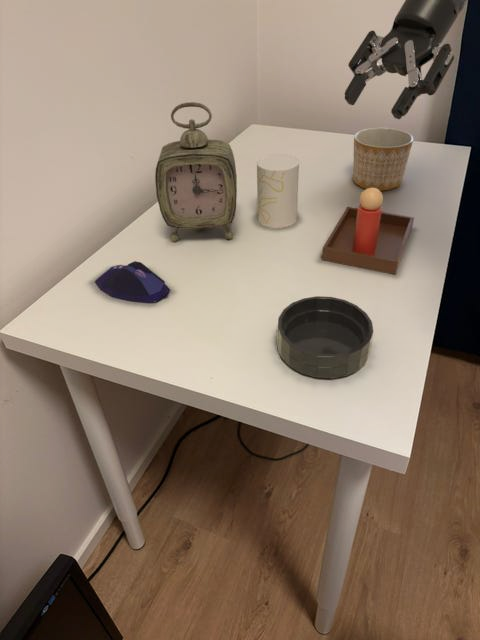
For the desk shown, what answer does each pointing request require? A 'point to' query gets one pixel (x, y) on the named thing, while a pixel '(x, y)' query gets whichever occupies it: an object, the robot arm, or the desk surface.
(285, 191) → the white cylinder
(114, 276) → the computer mouse
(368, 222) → the doll
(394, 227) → the tray
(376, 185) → the planter
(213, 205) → the tabletop clock
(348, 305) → the pan
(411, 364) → the desk surface
